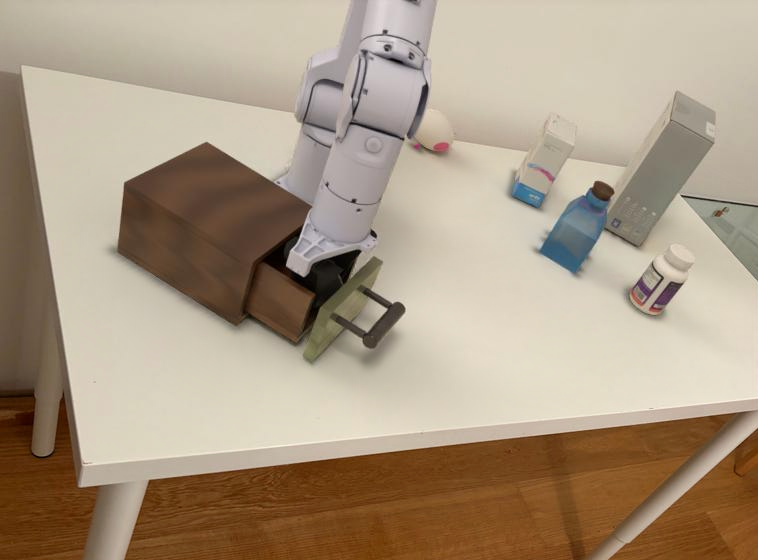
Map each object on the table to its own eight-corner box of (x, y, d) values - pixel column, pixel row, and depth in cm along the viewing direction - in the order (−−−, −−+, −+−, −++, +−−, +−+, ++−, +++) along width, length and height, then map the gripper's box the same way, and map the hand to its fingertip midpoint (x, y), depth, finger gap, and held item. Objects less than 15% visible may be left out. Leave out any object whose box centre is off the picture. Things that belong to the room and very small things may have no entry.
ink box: (539, 209, 114) (576, 145, 106) (510, 196, 113) (546, 130, 105) (543, 185, 120) (578, 122, 112) (516, 172, 120) (549, 108, 112)
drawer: (400, 329, 80) (422, 284, 76) (352, 387, 72) (374, 340, 67) (263, 244, 82) (276, 196, 77) (200, 291, 73) (211, 239, 69)
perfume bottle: (585, 256, 109) (628, 191, 101) (575, 274, 104) (619, 207, 97) (550, 234, 110) (590, 168, 102) (538, 251, 105) (579, 183, 97)
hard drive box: (639, 249, 117) (715, 143, 104) (597, 226, 117) (668, 118, 104) (648, 209, 129) (717, 110, 116) (610, 189, 129) (675, 87, 116)
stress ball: (441, 173, 117) (469, 141, 116) (428, 157, 109) (457, 123, 108) (409, 145, 118) (436, 113, 118) (393, 127, 111) (422, 93, 110)
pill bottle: (661, 302, 108) (700, 253, 102) (659, 321, 104) (700, 271, 98) (629, 285, 108) (667, 234, 102) (626, 304, 104) (664, 252, 98)
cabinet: (300, 271, 82) (320, 210, 77) (235, 326, 73) (253, 262, 67) (194, 205, 83) (206, 141, 78) (116, 251, 74) (123, 182, 68)
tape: (314, 289, 78) (304, 263, 76) (352, 283, 75) (342, 257, 74) (293, 310, 74) (281, 284, 73) (332, 305, 72) (321, 277, 70)
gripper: (352, 240, 60) (311, 350, 69) (421, 180, 71) (378, 281, 80) (282, 197, 61) (249, 311, 70) (361, 144, 72) (324, 248, 80)
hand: (314, 293), depth 75 cm, fingers closed on tape, 5 cm apart
